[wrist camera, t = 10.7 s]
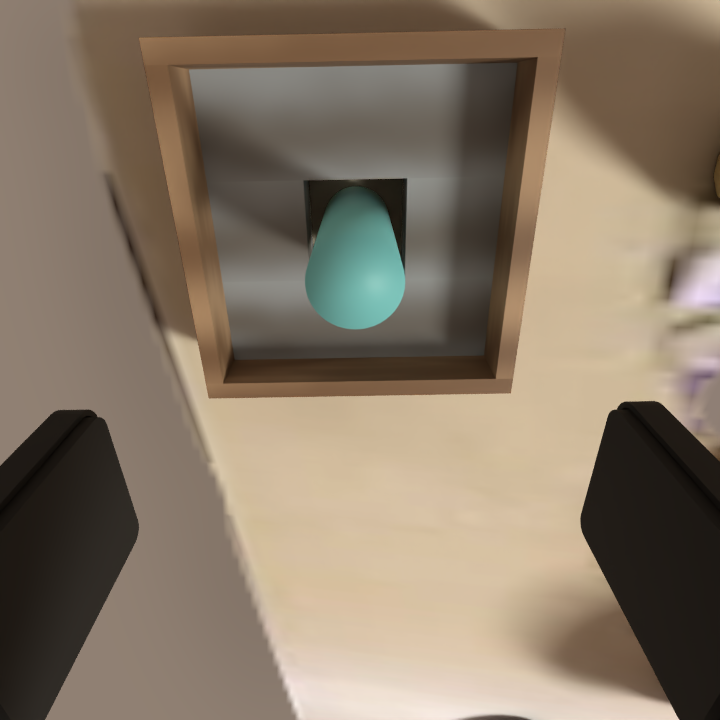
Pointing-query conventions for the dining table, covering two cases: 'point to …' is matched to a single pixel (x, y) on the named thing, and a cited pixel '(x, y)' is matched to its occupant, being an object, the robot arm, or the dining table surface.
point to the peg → (355, 262)
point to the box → (355, 161)
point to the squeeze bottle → (717, 177)
